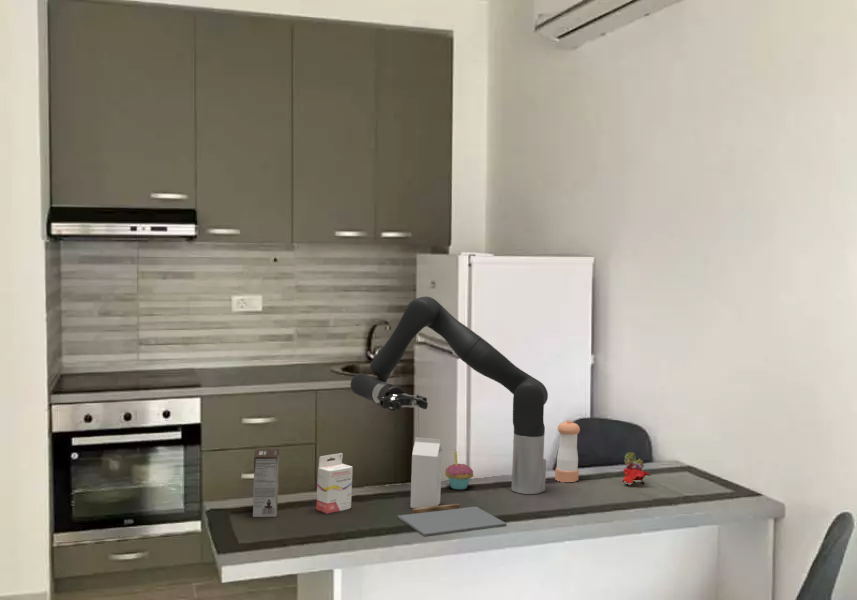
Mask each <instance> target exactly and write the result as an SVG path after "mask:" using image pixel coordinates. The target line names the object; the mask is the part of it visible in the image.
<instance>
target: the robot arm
mask: <svg viewBox="0 0 857 600" xmlns="http://www.w3.org/2000/svg"><path fill="white" fill-rule="evenodd" d="M426 327H427V328H428V329H431V330H432V331H434V332H435V333H436V334H438V335H439V336H440V337H442V338H443V339H444V340H445V341H446V343H447V344H448V345H449V347H450V348H451V349H452V351H453V353H454V354H455V355H456V356H457V357H458V358H459V359H460V360H461V361H462V362H463V363H465V364H466V365H467V366H469V367H470V368H471V369H472V370H474V371H475V372H477V373H478V374H481V375H482V376H484V377H486V378H488V379H490V380H493V381H495V382H496V383H499V384H500V385H502V386H503V387H504V388H505V389H506V390H508V391H509V392H510V393H511V394H512V395H513V397H512V425H513V440H512V441H513V442H512V444H513V445H512V446H513V447H512V466H511V467H512V468H511V470H512V471H511V490H512V491H513V492H515V493H517V494H518V493H519V494H524V495H537V494H540V493H542V492H546V474H547V473H546V472H547V470H546V469H547V459H545V458H544V456H545V455H544V454H545V453H544V452H545V433H546V432H545V431H546V429H545V423H544V415H545V414H544V409H545V404H546V403H547V401H548V398H549V393H548V390H547V388H546V386H545V385H544V383H542V382H541V381H540V380H539V379H537V378H535V377H534V376H532V375H530V374H529V373H527V372H525V371H523V370H522V369H521V368H519V367H518V366H517V365H515V364H514V363H512V361H511V360H509V358H507V357H506V356H505V355H504V354H503V353H502V352H500V351H499V350H498V349H496V348H495V346H493V345H492V344H491V343H489V342H488V341H487V340H486V339H484V338H483V337H481V336H480V335H478V333H476V332H475V331H473V330H471V328H469V327H468V326H466V325H465V324H463V323H462V322H460V321H459V320H458V319H456V318H455V317H454V316H453V315H452V314H451V313H450V312H449V311H448V310H447V309H446V308H445V307H444V306H443V305H441V304H440V302H438V301H437V300H436V299H434V298H433V297H431V296H421V297H418V298H415V299H412V300H411V301H410V302H409V303H408V305H406V309H405V310H404V312H403V314H402V316H401V318H400V320H399V321H398V324H397V325H396V328H395V329H394V330H393V332H392V333H391V336H389V338H388V340H387V341H386V342H385V343H384V345H383V346H382V348H381V349H380V350H379V352H378V353H377V354H376V355H375V357H374V358H373V359H372V361H371V362H370V365H369V369H370V370H371V372H372V373H373V374H375V376H376V377H372V376H370V375H368V374H367V373H363V372H360V373H357V374H355V375H354V376H353V377H352V379H351V380H350V389H351V391H352V393H354V394H355V395H358V396H360V397H362V398H364V399H367V400H369V401H371V402H374V403H375V404H376V406H378V407H381V408H382V409H387V410H388V411H391V412H396V411H401V409H402V408H411V409H412V408H420V409H423V410H427V408H428V404H429V403H428V402H427V401H428V398H427V397H425V396H422V395H419V394H414V395H413V394H412V395H411V394H408V393H406V392H405V390H404V388H402V387H401V386H398V385H395V384H393V383H390V382H388V379H389V377H390V375H391V373H392V372H393V371H394V370H395V369H396V367H397V365H398V364H399V363H400V361H401V359H402V358H403V356H404V355H405V352H406V350H407V348H408V346H409V344H410V343H411V341H412V340H413V339H414V338H415V337H416V335H418V333H420V332H421V331H422V330H423V329H424V328H426Z"/></svg>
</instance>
